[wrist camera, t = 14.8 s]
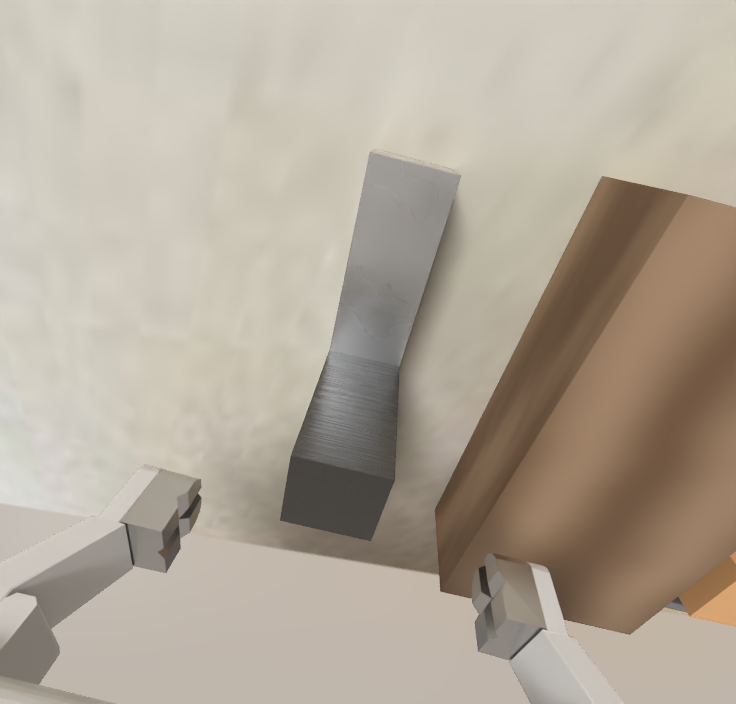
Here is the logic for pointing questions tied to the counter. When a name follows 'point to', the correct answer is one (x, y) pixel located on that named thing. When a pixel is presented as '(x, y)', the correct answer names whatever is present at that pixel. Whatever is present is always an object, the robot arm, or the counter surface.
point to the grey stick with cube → (369, 349)
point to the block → (714, 594)
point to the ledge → (612, 417)
